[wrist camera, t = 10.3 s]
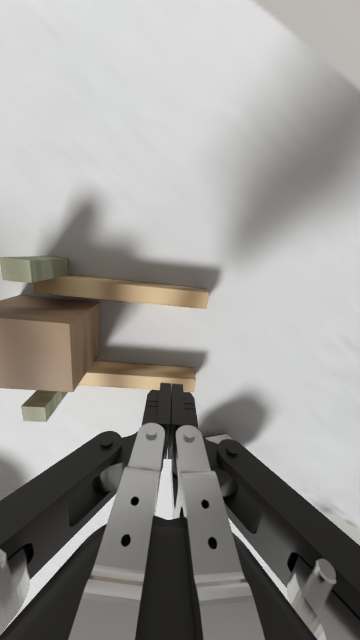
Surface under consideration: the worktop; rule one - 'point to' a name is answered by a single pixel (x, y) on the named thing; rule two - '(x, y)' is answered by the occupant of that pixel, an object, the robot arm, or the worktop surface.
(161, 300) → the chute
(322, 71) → the worktop surface
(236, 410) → the worktop surface
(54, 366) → the block
